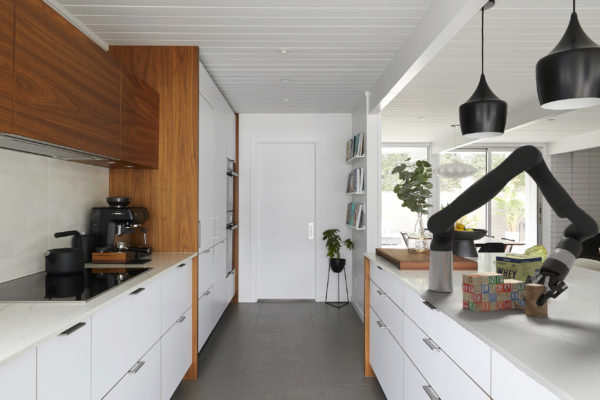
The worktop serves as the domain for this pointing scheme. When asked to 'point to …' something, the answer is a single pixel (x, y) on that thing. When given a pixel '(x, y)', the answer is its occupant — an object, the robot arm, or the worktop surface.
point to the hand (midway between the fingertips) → (531, 303)
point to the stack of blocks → (491, 292)
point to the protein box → (518, 266)
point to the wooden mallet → (534, 301)
